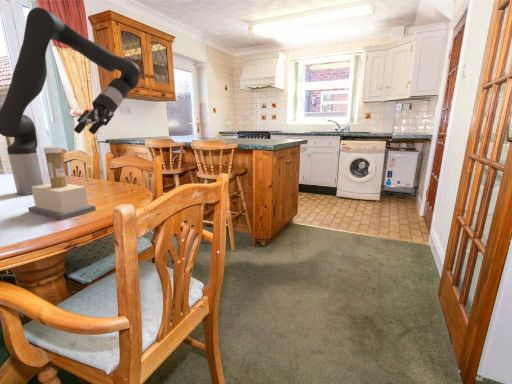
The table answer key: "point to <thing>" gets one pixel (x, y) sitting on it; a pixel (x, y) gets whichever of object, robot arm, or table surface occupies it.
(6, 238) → the table surface
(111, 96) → the robot arm
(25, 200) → the table surface
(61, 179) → the sprinkles bottle
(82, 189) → the cream and grey block
